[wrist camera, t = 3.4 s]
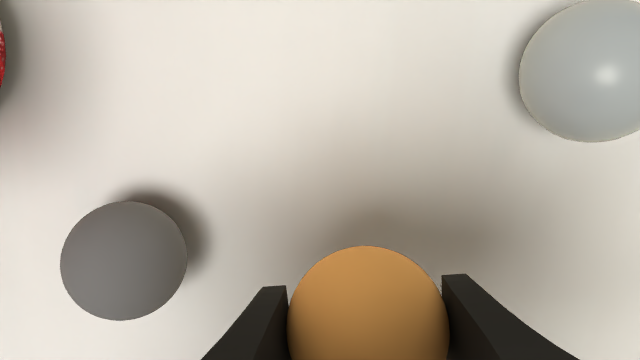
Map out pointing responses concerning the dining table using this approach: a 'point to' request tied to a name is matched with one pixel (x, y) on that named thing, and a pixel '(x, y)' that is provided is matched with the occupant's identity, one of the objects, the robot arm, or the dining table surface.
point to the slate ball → (585, 71)
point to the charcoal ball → (123, 260)
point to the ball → (367, 309)
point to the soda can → (2, 55)
